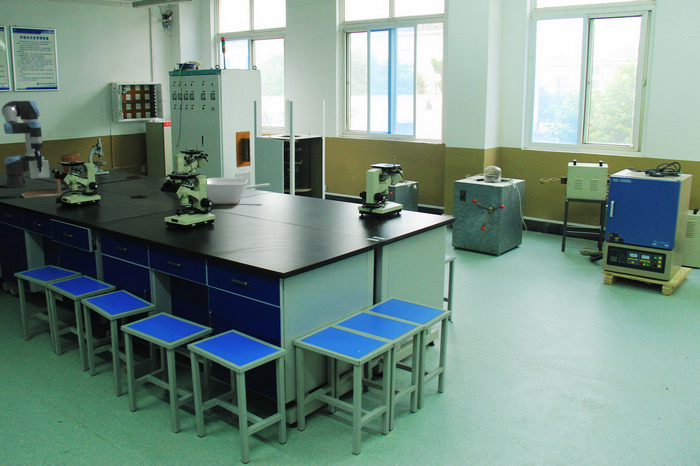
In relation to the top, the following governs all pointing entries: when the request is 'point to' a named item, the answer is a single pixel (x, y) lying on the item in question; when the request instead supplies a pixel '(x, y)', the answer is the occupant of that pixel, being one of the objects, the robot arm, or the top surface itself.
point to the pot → (227, 189)
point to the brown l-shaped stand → (44, 191)
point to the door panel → (34, 169)
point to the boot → (66, 159)
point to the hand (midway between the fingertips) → (40, 176)
